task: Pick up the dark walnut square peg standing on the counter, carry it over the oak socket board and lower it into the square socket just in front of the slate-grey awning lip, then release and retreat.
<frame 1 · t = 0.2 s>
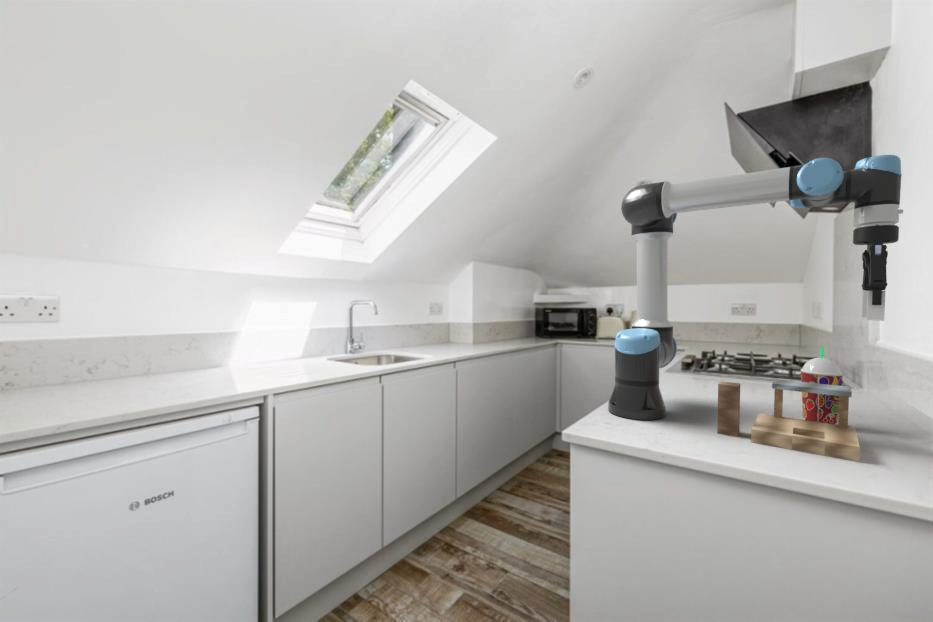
hand: (872, 319, 98), 28 cm above the countertop, fingers open, 13 cm apart
socket board: (802, 441, 96), on the countertop
smoothie: (819, 425, 108), on the countertop
peg: (728, 433, 102), on the countertop
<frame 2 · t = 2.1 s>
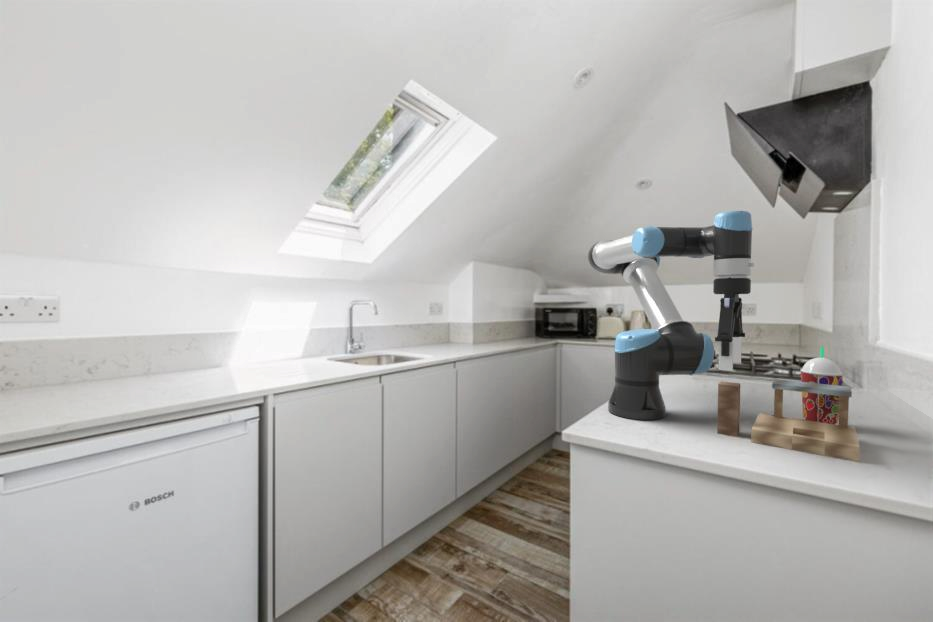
hand: (730, 366, 101), 16 cm above the countertop, fingers open, 13 cm apart
nothing on the countertop moved.
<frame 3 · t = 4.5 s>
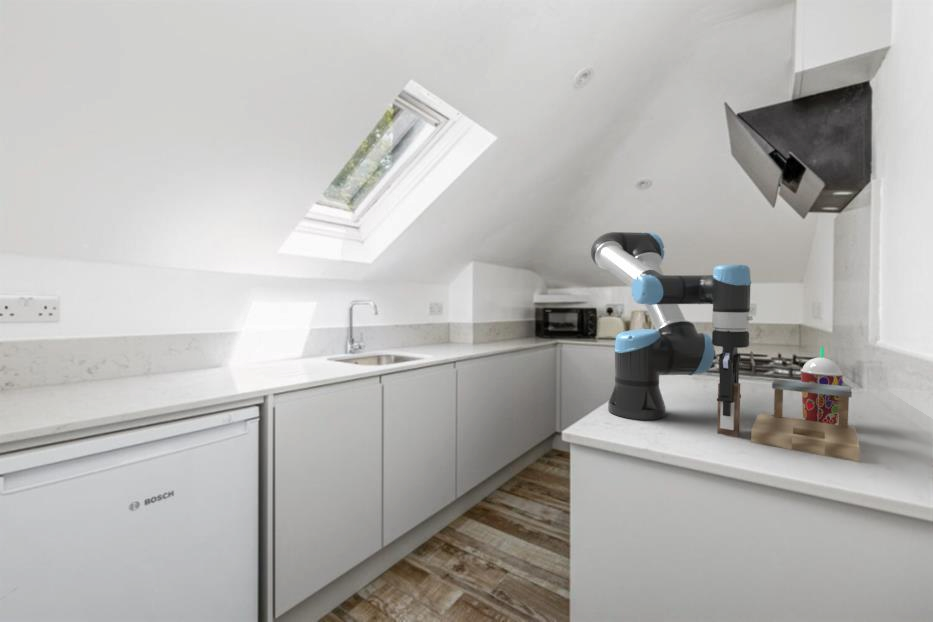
hand: (728, 426, 102), 2 cm above the countertop, fingers closed on peg, 4 cm apart
peg: (728, 432, 102), on the countertop, touching gripper
everything else where it was.
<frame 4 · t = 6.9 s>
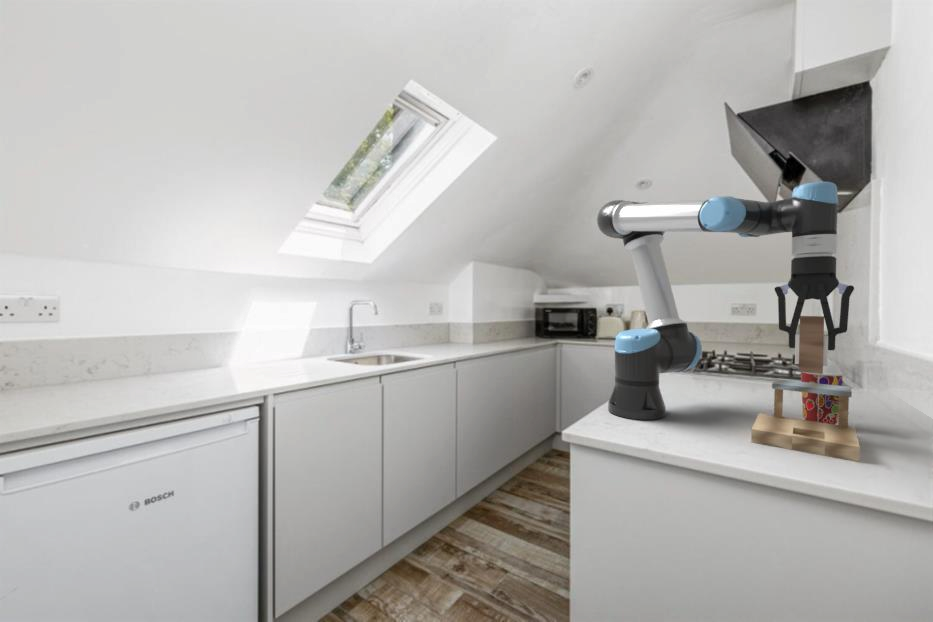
hand: (810, 364, 92), 18 cm above the countertop, fingers closed on peg, 4 cm apart
peg: (810, 371, 92), point 17 cm above the countertop, touching gripper
everything else where it was.
when the fingers open (4 cm above the countertop, at t = 9.7 s): peg drops 2 cm, resting in socket board.
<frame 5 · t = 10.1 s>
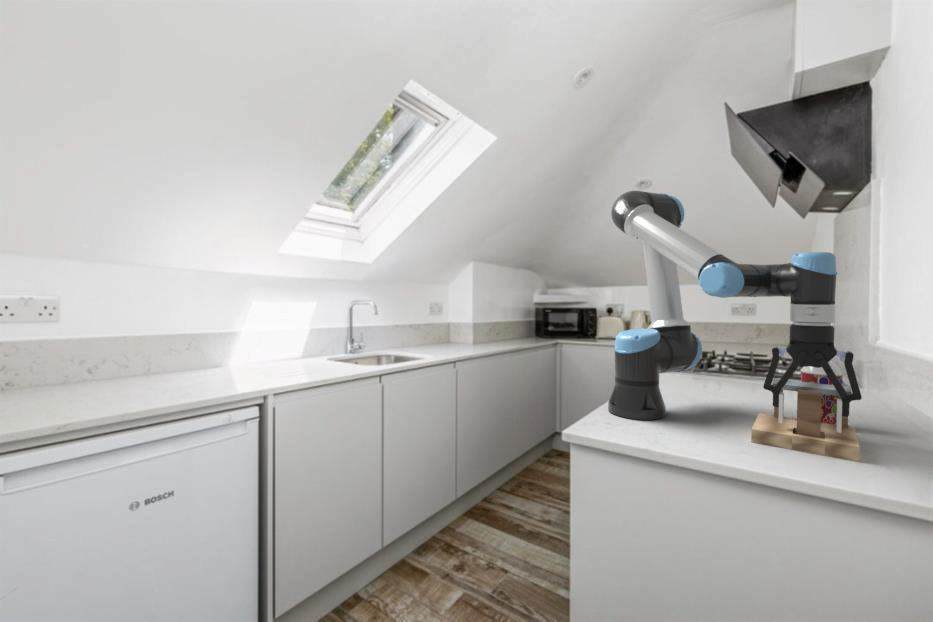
hand: (808, 426, 93), 5 cm above the countertop, fingers open, 9 cm apart
peg: (807, 446, 93), resting in socket board
everything else where it was.
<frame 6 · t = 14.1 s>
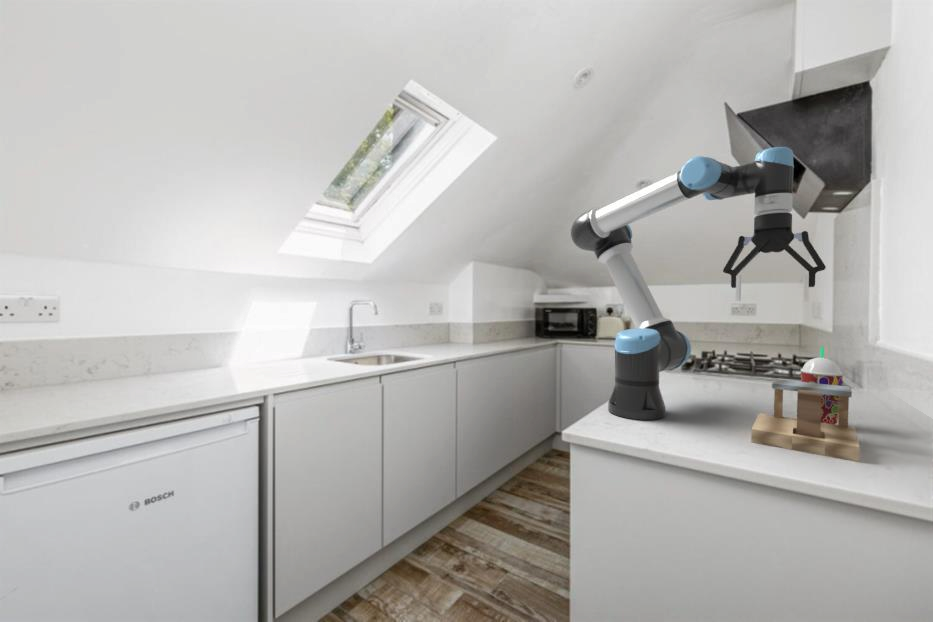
hand: (770, 301, 104), 32 cm above the countertop, fingers open, 13 cm apart
nothing on the countertop moved.
at the end: peg 0.0 cm from the target spot on the socket board, point 0.0 cm above the socket board's base; peg tilted 0°; the gripper is holding nothing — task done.
